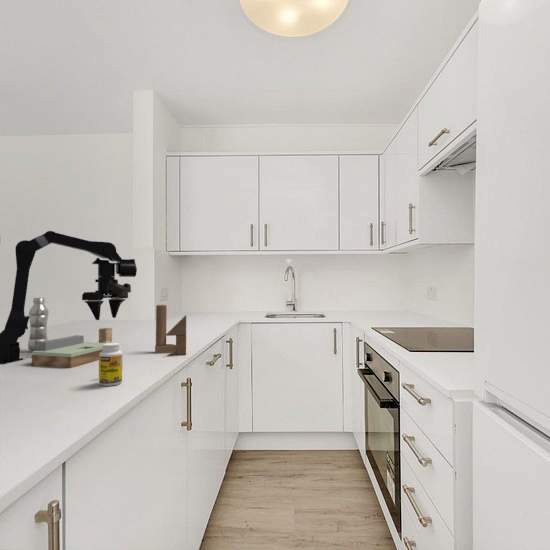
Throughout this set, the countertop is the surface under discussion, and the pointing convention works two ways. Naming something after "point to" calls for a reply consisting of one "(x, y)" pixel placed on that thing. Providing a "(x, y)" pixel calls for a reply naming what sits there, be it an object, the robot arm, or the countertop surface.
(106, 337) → the pin
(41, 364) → the brown wooden slab
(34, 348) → the plastic bottle
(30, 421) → the countertop surface
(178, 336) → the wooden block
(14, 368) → the countertop surface
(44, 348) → the lid
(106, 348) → the supplement bottle
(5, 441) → the countertop surface
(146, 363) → the countertop surface
